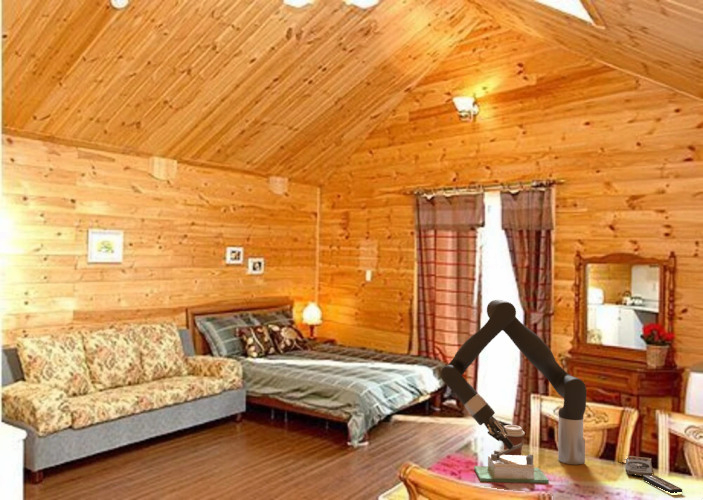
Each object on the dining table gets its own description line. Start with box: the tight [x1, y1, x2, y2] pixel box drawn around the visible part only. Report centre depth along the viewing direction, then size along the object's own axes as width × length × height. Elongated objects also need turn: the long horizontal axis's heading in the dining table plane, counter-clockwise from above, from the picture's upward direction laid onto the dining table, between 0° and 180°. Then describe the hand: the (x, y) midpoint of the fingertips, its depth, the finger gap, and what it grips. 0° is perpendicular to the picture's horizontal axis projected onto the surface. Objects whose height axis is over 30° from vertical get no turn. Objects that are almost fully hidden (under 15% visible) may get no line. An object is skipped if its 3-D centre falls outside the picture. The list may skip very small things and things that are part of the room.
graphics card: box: [625, 455, 654, 476], centre depth 227 cm, size 17×4×12 cm
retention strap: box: [496, 442, 524, 457], centre depth 219 cm, size 11×3×1 cm
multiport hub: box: [642, 474, 683, 493], centre depth 210 cm, size 4×14×2 cm, turn 12°
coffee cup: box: [503, 424, 526, 456], centre depth 240 cm, size 9×9×12 cm
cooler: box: [473, 450, 550, 484], centre depth 219 cm, size 24×13×8 cm, turn 88°
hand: (511, 447), depth 219 cm, fingers closed
